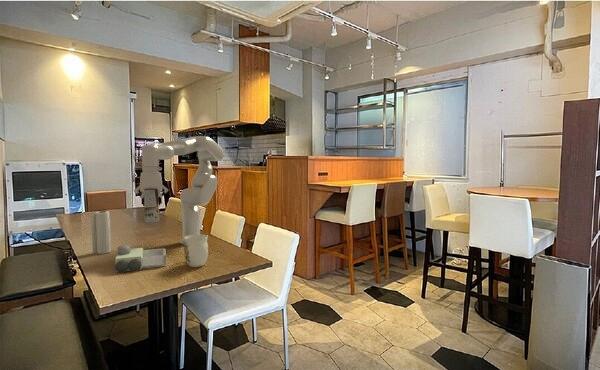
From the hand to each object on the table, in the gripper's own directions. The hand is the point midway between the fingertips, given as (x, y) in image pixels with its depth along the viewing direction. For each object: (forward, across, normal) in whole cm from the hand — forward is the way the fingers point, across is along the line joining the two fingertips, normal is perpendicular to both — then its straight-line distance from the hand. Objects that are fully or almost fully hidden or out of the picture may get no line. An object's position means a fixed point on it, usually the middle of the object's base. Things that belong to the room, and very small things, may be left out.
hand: (151, 205), depth 167 cm
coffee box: (+8, 0, 0) cm, 8 cm away
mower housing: (+25, +9, +15) cm, 31 cm away
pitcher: (+26, -19, +23) cm, 39 cm away
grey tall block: (+26, +24, -13) cm, 38 cm away
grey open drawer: (+25, -1, +15) cm, 30 cm away
